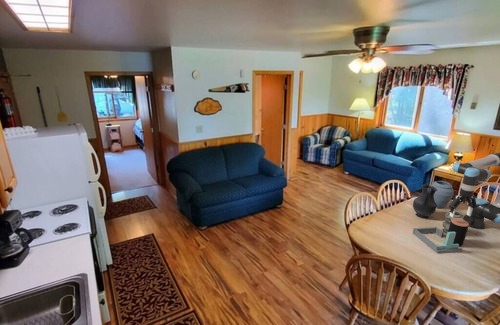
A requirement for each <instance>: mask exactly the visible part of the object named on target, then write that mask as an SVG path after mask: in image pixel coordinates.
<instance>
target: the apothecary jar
mask: <svg viewBox="0 0 500 325" xmlns="http://www.w3.org/2000/svg"><path fill="white" fill-rule="evenodd" d="M462 215H463V214H462V213H461V212H460V211H458V210H455V213H454V217H451V216H450V210H448V211H447V212H445V214H444V217H445V219H444V220H445V221H443V222H442V223H441V224H442V227H443V228H442V230H441V231H443V232H444V233H443V234H445V235H447V233H448V230H449V226H450V222H451V219H453V218H458V219H462V220H463V217H464V216H462Z"/></svg>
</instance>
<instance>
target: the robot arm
mask: <svg viewBox="0 0 500 325" xmlns="http://www.w3.org/2000/svg"><path fill="white" fill-rule="evenodd" d="M489 167H500V152H495V153H491V154H488V155H487V156H485V157H481V158H478V159H475V160H470V161H467V162H465V163H462V162H455V163H453V166H452V171H453V172H455V173H457V174H460V175H463V177H462V178H463V179H462V183H461V186H460V190H459V195H456V194H455V196H454V198H453V199H452V201H450V202H449V203H450V204H449V205H448V208H450V209H449V211H450V216H451V217H454V213H455V211H457V210H456V208H458V207H459V205H460V204H463V203H467V204H468V207H467V210H466V214H465V215H464V216H462V217H463V220H465V221H467V222H468V223H469V226H468V228H472V229H475V230H476V229H477V230H482V229H485V225H486V224H485V219H486V220H488V221H491V222H493V223H495V224H498V225H500V190H499V191H498V193H497V195H496V197H495V199H494V201H493V202H491V203H490V201H489V200H487V199H485V198H480V197H476V195H475V194H474V192H475V189H476V185H477V182H478V181H479V182H480V181H486V180H488V179H490V178H491V177H492V172H491V170H489V169H487V168H489Z"/></svg>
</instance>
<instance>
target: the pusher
mask: <svg viewBox="0 0 500 325" xmlns="http://www.w3.org/2000/svg"><path fill="white" fill-rule="evenodd" d="M455 235H456V233H455V232H448V233H447V234H446V238H445V240H444V244H439V245H438V244H436V245H437V246H438V250H443V249H456V248H459V247H460V246H459V244H453V242H454V238H455Z"/></svg>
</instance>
